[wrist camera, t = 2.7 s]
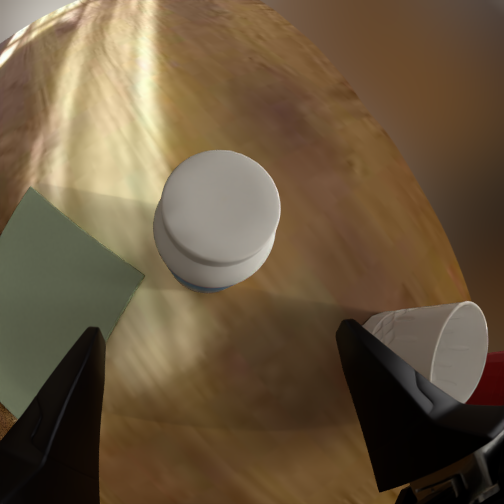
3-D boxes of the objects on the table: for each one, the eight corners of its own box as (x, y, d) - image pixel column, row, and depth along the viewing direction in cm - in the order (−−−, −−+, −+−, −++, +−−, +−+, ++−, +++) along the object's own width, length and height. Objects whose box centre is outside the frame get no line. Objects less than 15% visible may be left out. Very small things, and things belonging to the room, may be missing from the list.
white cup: (335, 331, 22) (419, 342, 13) (396, 291, 24) (478, 281, 15) (361, 401, 22) (436, 435, 12) (416, 358, 24) (491, 367, 14)
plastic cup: (425, 435, 22) (497, 461, 11) (426, 358, 24) (516, 369, 12) (472, 397, 25) (536, 407, 14) (473, 328, 27) (545, 325, 15)
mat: (56, 447, 15) (54, 449, 14) (-39, 350, 14) (-42, 351, 13) (145, 275, 20) (143, 274, 19) (33, 188, 18) (30, 185, 18)
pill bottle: (261, 259, 22) (328, 218, 11) (200, 309, 20) (210, 319, 9) (213, 200, 22) (236, 113, 11) (151, 246, 20) (113, 188, 9)
